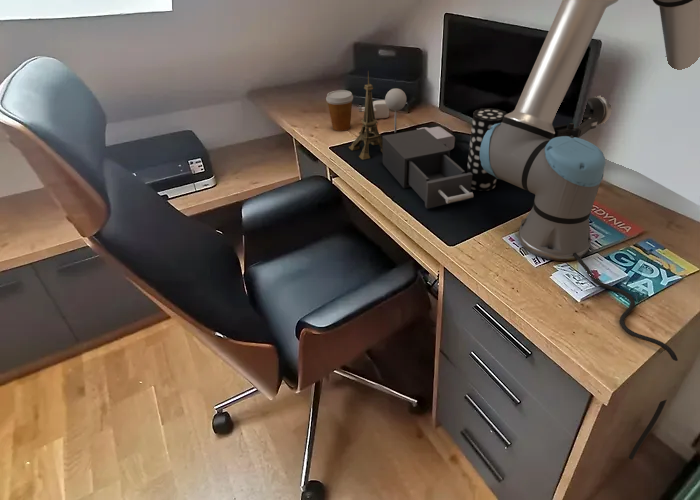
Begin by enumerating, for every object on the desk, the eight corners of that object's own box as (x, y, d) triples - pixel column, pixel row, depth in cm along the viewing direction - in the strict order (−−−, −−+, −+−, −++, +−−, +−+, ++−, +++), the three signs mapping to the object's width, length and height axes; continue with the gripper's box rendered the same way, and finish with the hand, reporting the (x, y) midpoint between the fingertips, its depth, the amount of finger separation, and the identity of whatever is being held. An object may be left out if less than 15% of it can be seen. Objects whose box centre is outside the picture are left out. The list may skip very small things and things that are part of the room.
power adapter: (359, 121, 170) (359, 105, 167) (358, 116, 174) (357, 100, 171) (389, 118, 171) (389, 103, 167) (387, 114, 175) (387, 98, 171)
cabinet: (447, 179, 132) (450, 149, 127) (403, 188, 129) (404, 158, 124) (422, 155, 145) (424, 128, 139) (382, 163, 142) (382, 135, 136)
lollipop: (409, 130, 161) (410, 87, 152) (399, 137, 157) (400, 93, 148) (391, 126, 165) (391, 84, 156) (381, 134, 160) (381, 90, 151)
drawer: (481, 209, 117) (484, 184, 113) (436, 219, 114) (438, 194, 110) (442, 173, 133) (444, 150, 129) (402, 181, 131) (403, 158, 126)
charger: (431, 132, 159) (454, 149, 148) (407, 137, 157) (428, 155, 145) (432, 119, 156) (455, 135, 145) (407, 124, 154) (429, 140, 142)
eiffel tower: (362, 160, 145) (359, 78, 130) (348, 147, 152) (344, 69, 137) (392, 152, 148) (392, 72, 133) (377, 140, 156) (376, 63, 141)
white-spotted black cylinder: (459, 184, 129) (467, 115, 117) (475, 173, 134) (483, 106, 122) (486, 194, 125) (496, 123, 113) (501, 182, 129) (513, 112, 117)
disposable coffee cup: (338, 120, 172) (336, 88, 164) (359, 125, 167) (358, 92, 160) (322, 129, 166) (320, 96, 158) (344, 134, 161) (342, 100, 154)
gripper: (625, 142, 117) (554, 157, 113) (561, 109, 136) (498, 121, 132) (635, 113, 113) (561, 128, 108) (567, 83, 132) (501, 95, 127)
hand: (526, 124), depth 120 cm, fingers open, 13 cm apart
